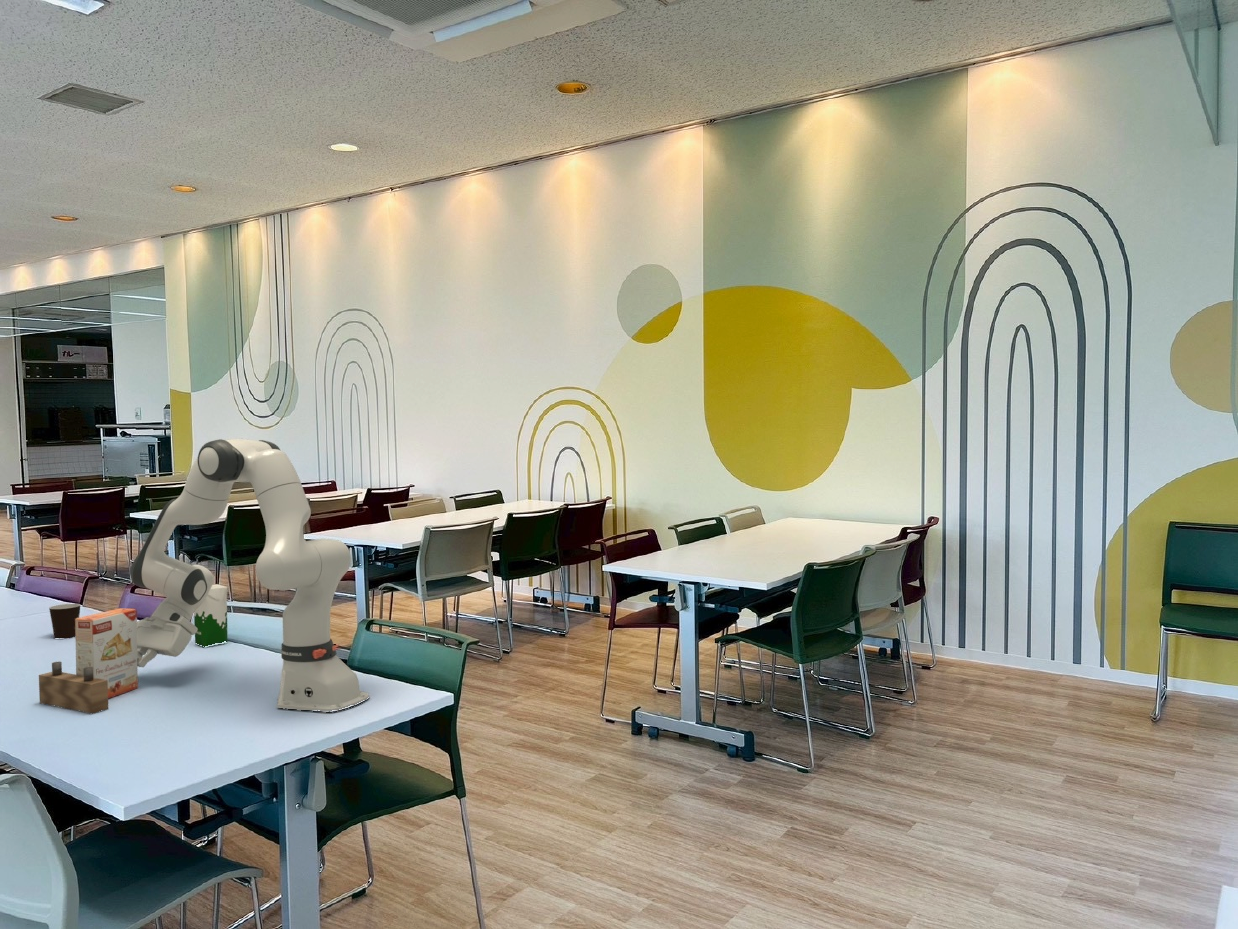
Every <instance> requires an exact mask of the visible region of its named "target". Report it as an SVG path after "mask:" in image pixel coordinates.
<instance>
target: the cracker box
mask: <svg viewBox="0 0 1238 929" xmlns="http://www.w3.org/2000/svg"><path fill="white" fill-rule="evenodd" d="M137 615H138V611H137V609H134V608H123V607H121V608H120V607H118V608H116V609H112V610H111V609H110V610H107V611H106V610H105V611H102V612H98V613H94V614H90V615H89V614H88V615H86V616H82V617H79V618H77V619H75V636H76V637H75V673H76V674H75V675H81V676H84V673H83V668H86V667H93V678H98V679H104V680H107V681H108V699H110V698H113V697H117V696H119V695H122V694H125V693H127V692H130V691H133V690H136V689H139V685H138V682H139V681H138V676H139V675H138V673H139V672H138V671H139V670H138V666H137V622H138V616H137Z"/></svg>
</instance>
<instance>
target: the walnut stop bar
mask: <svg viewBox="0 0 1238 929" xmlns="http://www.w3.org/2000/svg"><path fill="white" fill-rule="evenodd" d="M62 669H63V667H62V661H54V662H51V671H50V672H45V673H41V674H39V675H38V692H39V693H38V694H39V696H38V697H39V704H41V703H44V704H43V705H46V704H48V705H47V706H51V705H55V706H54V707H56V706H59V707H58V708H61V707H62V709H66V708H67V709H66V710H71V709H72V710H71V711H75V710H80V711H84V712H83V713H85V712H87V713H86V714H90V713H92V714H91V715H94V714H96V712H97V713H100V712H102V711H101V710H104V711H106V710H109V698H108V681H107V680H104V679H98V678H93V667H86V668H83V673H84V676H81V675H76V674H75V673H69V672H63V670H62ZM80 711H79V712H80ZM99 711H100V712H99ZM93 713H94V714H93Z"/></svg>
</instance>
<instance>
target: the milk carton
mask: <svg viewBox="0 0 1238 929" xmlns="http://www.w3.org/2000/svg"><path fill="white" fill-rule="evenodd" d="M227 600H228V586H226V585H222V584H217V583H216V584H213V585H212V587H211V589H210V591H209V593H208V594H207V596H206V598H205V599H204V601H203V602H202V604H201V605H200V606H199V607H198V608H197V609H196V610H195V611H194V613H193V616H194V617H193V618H194V619H193V620H194V622H193V624H194V625H195V626H196V627H197V628H198V630H197V632H196V633H195V634H194V643H197V644H199V645H202V646H204V647H205V646H208V645H212V644H215V643H222V642H224V641H226V642H228V641H229V640H228V602H227ZM199 645H198V646H199ZM204 647H203V648H204Z"/></svg>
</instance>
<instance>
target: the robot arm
mask: <svg viewBox="0 0 1238 929" xmlns="http://www.w3.org/2000/svg"><path fill="white" fill-rule="evenodd" d="M184 483H185V484H184V488H183V490H182V492H181V493H180V495H179V496H177V498H172V499H171V500H169V501H168V502H167V503H166V504H165V506H164V507H163V508H162V509H161V512H160V513H159V515H158V517H157V518H156V520H155V522H154V524H153V526H152V527H151V531H150V532H149V534H148V536H147V538H146V540H145V542H144V544H143V546H142V548H141V550H140V551H139V552H138V554H137V556H136V557H135V559H134V560H133V562H132V564H131V566H130V568H129V574H130V578H131V580H132V582H133V584H134V585H135V586H137V587H140V588H142V589H146V590H151V591H154V592H156V593H158V594H160V595H163V596H165V598H164V599H163V600H162V601H161V602H160V603H159V605H158V606H157V607H156V608H155V610H154V611H153V612H152V613H151V615H150V617H148V616H147V617H145V618H143V619H140V620H137V667H139V668H144V667H145V666H147V664H148V663H149V662H150V661H152V660H153V659H155V658H156V656H157V655H162V656H168V657H174V658H176V657H178V656H179V655H181V654H182V653H183V651H184V650H185V649H186V648H187V646H188V645H189V643H190V641H191V640H192V637H193V636H195V633H196V632H197V630H198V628H197V627H196V626H195V625H194V623H192V621H191V620H192V618H193V616H194V611H195V610H196V609H197V608H198V607H199V606H200V605H201V604H202V602H203V601H204V599H205V598H206V596H207V594H208V593H209V591H210V589H211V587H212V585H214V581H215V577H214V574H213V573H212V571H210V570H209V568H207V567H205V566H203V565H201V564H190V563H187V562H185V561H181V560H179V559H177V558H174V557H171V556H169V555H168V554H166V552H165V548H166V546H167V544H168V542H169V540H170V538H171V536H172V534H173V532H174V530H175V528H176V527H177V526H181V525H187V526H188V525H189V526H199V525H206V524H209V523H212V522H215V521H216V520H218V519H219V518H221V517H222V516H223V514H224V512H225V510H226V509H227V506H228V503H229V498H230V496H231V493H232V489H233V485H234V483H250V485H251V486H252V488H253V491H254V495H255V497H256V500H257V504H258V506H259V509H260V513H261V515H262V518H263V522H264V526H265V528H264V529H265V535H266V536H265V543H264V547H263V549H262V551H261V553H260V554H259V556H258V558H257V560H256V563H255V564H256V565H255V573H256V577H257V580H258V581H259V583H260V585H262V586H263V587H264V588H265V589H267V590H271V591H272V590H273V591H290V590H294V589H296V592H295V594H294V597H293V599H291V601H290V603H289V604H288V605H287V606H285V608H284V610H283V612H282V643H281V647H280V648H281V649H280V652H281V653H280V654H281V657H280V658H281V659H282V662H283V663H282V669H281V673H280V674H281V675H280V687H279V693H278V697H277V699H276V700H277V701H278V702H277V701H276V702H277V706H276V709H278V708H283V709H282V710H288V709H297V710H296V711H301V710H317V711H318V710H320V711H332V710H339V709H342V708H345V707H348V706H350V705H355V704H357V703H359V702H361V701H363V700H366V699H367V698H368V697H369V698H370V694H369V693H368V692H364V691H361V690H360V685H359V678H358V676H357V674H356V672H354V671H353V669H351V668H350V667H349V666H348V665H346V663H344V662H343V661H342V659H341V658H340V657H338V656H337V650H340V644H337V645H334V642H333V639H332V638H331V611H332V610H331V609H332V604H333V599H334V596H335V593H336V591H337V588H338V585H339V584H340V582H341V580H342V579H343V577H344V576H345V574H347V572H348V571H349V569H350V567H351V563H352V557H351V552H350V548H349V547H348V546H347V545H346V543H344V542H343V541H342V540H338V539H333V538H318V539H311V540H306V539H305V536H304V525H305V524H306V523H307V522H308V521H309V520H310V517H311V514H312V513H311V512H312V510H311V507H310V504H309V502H308V499H307V495H306V493H305V490H304V488H303V485H302V482H301V479H300V477H299V475H298V472H297V471H296V468H295V466H294V465H293V463H292V461H291V460H290V458H289V456H288V455H287V453H285V452H284V451H283V450H281V448H280V446H278V445H277V444H276V443H273V442H271V441H268V440H263V439H259V440H255V439H244V438H231V439H222V438H221V439H215V440H211V441H208V442H205V443H204V444H203V445H202V446H201V448H200V449H199V451H198V455H197V457H196V459H195V461H194V462H193V465H192V466H191V468H190V470H189V473H188V475H187V478H186V480H185V482H184ZM285 708H287V709H285Z"/></svg>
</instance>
